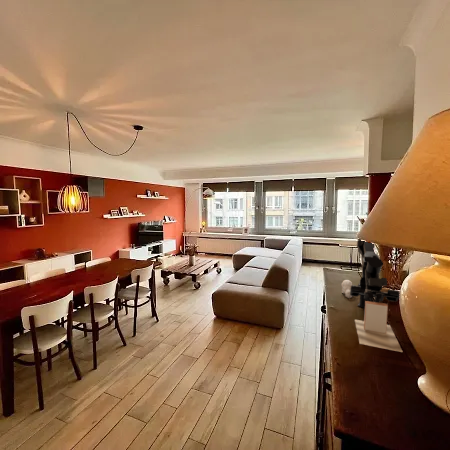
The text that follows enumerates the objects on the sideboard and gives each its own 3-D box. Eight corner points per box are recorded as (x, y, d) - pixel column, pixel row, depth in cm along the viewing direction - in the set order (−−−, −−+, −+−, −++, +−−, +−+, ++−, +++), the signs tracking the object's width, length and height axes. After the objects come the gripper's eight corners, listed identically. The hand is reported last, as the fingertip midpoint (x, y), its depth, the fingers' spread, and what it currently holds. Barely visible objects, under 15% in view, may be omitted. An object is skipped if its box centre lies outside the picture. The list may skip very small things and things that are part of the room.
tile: (363, 327, 109) (365, 300, 108) (385, 331, 106) (386, 303, 105) (364, 330, 107) (365, 303, 106) (386, 333, 104) (388, 306, 103)
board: (354, 321, 117) (354, 319, 117) (389, 327, 111) (389, 325, 111) (359, 346, 96) (359, 343, 96) (402, 354, 91) (403, 352, 91)
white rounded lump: (352, 279, 153) (356, 287, 142) (351, 292, 154) (355, 301, 143) (341, 278, 155) (343, 286, 144) (340, 291, 157) (342, 299, 145)
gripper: (351, 268, 115) (352, 299, 105) (400, 272, 107) (405, 306, 98) (349, 280, 122) (350, 310, 113) (394, 285, 115) (399, 317, 106)
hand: (375, 311), depth 107 cm, fingers closed
